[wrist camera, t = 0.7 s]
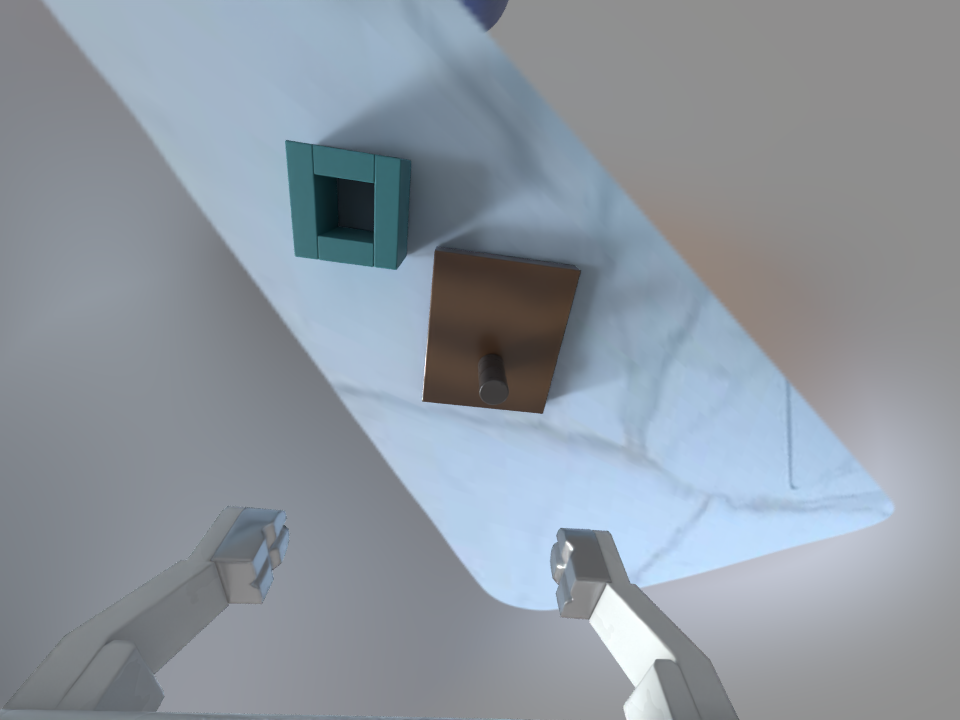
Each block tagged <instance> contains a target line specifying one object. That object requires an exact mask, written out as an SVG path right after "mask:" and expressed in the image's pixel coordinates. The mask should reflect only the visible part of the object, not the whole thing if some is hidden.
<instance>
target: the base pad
mask: <svg viewBox="0 0 960 720" xmlns="http://www.w3.org/2000/svg"><path fill="white" fill-rule="evenodd" d="M580 272H581V270H579V269H578V268H577V267H576V266H574V265H567V264H560V263H552V262H545V261H538V260H531V259H524V258H517V257H510V256H502V255H495V254H488V253H481V252H474V251H467V250H460V249H452V248H445V247H438V246H437V247H436V249H435V253H434V265H433V277H432V289H431V301H430V312H429V324H428V336H427V348H426V360H425V372H424V383H423V395H422V401H423V402H432V403H442V404H452V405H462V406H472V407H482V408H491V409H501V410H511V411H521V412H531V413H540V414H543V411H544V407H545V404H546V400H547V396H548V392H549V389H550V385H551V381H552V377H553V374H554V370H555V366H556V362H557V359H558V355H559V351H560V347H561V344H562V340H563V336H564V332H565V329H566V325H567V321H568V317H569V314H570V310H571V306H572V302H573V299H574V295H575V291H576V287H577V284H578V280H579V276H580Z"/></svg>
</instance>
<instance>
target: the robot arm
mask: <svg viewBox="0 0 960 720" xmlns="http://www.w3.org/2000/svg"><path fill="white" fill-rule="evenodd" d="M285 521H286V513H285V511H283V510H272V509H261V508H250V507H237V506H227V507H226V508H225V509H224V510H222V512H221V513H220V514H219V516H218V517H217V518H216V520H215V521H214V523H213V524H212V525H211V527H210V528H209V530H208V531H207V533H206V534H205V535H204V537H203V538H202V540H201V541H200V542H199V544H198V545H197V546H196V548H195V549H194V551H193V552H192V554H191V555H190V556H189V558H188V559H187V560H180V561H178V562H177V563H175V564H174V565H172V566H171V567H169V568H168V569H166V570H165V571H163V572H162V573H160V574H159V575H157V576H156V577H154V578H152V579H151V580H149V581H148V582H146V583H145V584H143V585H142V586H140V587H139V588H137V589H135V590H134V591H133V592H131V593H129V594H128V595H126V596H125V597H123V598H122V599H120V600H119V601H117V602H116V603H114V604H113V605H111V606H109V607H108V608H106V609H105V610H103V611H102V612H100V613H99V614H97V615H96V616H94V617H93V618H91V619H90V620H88V621H86V622H85V623H83V624H82V625H80V626H79V627H77V628H76V629H74V630H73V631H71V632H69V633H68V634H66V635H65V636H64V637H63V638H62V639H61V640H60V642H59V643H58V644H57V645H56V646H55V648H54V649H53V650H52V651H51V652H50V653H49V654H48V656H47V657H46V658H45V659H44V660H43V661H42V663H41V664H40V665H39V666H38V667H37V669H36V670H35V671H34V672H33V673H32V674H31V675H30V677H29V678H28V679H27V680H26V681H25V682H24V683H23V685H22V686H21V687H20V688H19V689H18V690H17V692H16V693H15V694H14V695H13V696H12V698H11V699H10V700H9V701H8V702H7V703H6V705H5V706H4V707H3V708H2V709H0V720H527V719H482V718H480V719H479V718H432V717H384V716H383V717H381V716H335V715H333V716H332V715H285V714H284V715H283V714H235V713H231V714H230V713H184V712H156V711H157V709H158V707H159V706H160V704H161V702H162V700H163V699H164V692H163V689H162V687H161V686H160V684H159V682H158V681H157V679H156V677H155V676H154V674H155V673H156V672H158V671H159V670H160V669H161V668H162V667H163V666H164V665H165V664H166V663H167V662H168V661H169V660H170V659H172V658H173V657H174V656H175V655H176V654H177V653H178V652H179V651H180V650H181V649H182V648H183V647H184V646H186V645H187V644H188V643H189V642H190V641H191V640H192V639H193V638H194V637H195V636H196V635H197V634H199V633H200V632H201V631H202V630H203V629H204V628H205V627H206V626H207V625H208V624H209V623H210V622H212V621H213V620H214V619H215V618H216V617H217V616H218V615H219V614H220V613H221V612H222V611H223V610H225V609H226V608H227V607H228V605H229V604H262V603H263V601H264V599H265V597H266V595H267V592H268V590H269V588H270V586H271V584H272V582H273V580H274V578H273V573H272V570H274V569H275V568H276V567H277V566H279V565H280V564H281V563H282V561H283V558H284V556H285V554H286V551H287V547H288V543H289V530H288V528H287V527H286V526H285V525H284V523H285ZM556 536H557V541H558V542H557V543H555V544H554V545H553V547H552V550H551V559H550V564H551V572H552V577H553V579H554V580H555V582H556V583H557V584H558V585H559V586H558V589H557V591H556V597H557V602H558V607H559V611H560V616H561V617H563V618H576V619H589V622H590V624H591V625H592V626H593V628H594V629H595V631H596V632H597V633H598V635H599V636H600V638H601V639H602V641H603V642H604V643H605V645H606V646H607V648H608V649H609V651H610V652H611V653H612V655H613V656H614V658H615V659H616V660H617V662H618V663H619V665H620V666H621V668H622V669H623V670H624V672H625V673H626V675H627V676H628V678H629V679H630V680H631V682H632V683H633V685H634V686H635V689H634V691H633V692H632V694H631V695H630V697H629V698H628V700H627V701H626V703H625V704H624V706H623V709H624V712H625V716H626V720H739V718H738V716H737V715H736V712H735V710H734V708H733V706H732V704H731V702H730V700H729V698H728V696H727V694H726V691H725V689H724V688H723V685H722V683H721V681H720V679H719V677H718V675H717V673H716V671H715V669H714V667H713V665H712V663H711V661H710V659H709V658H708V657H707V656H706V655H705V654H704V653H703V652H702V651H701V650H700V649H699V648H698V647H697V646H696V645H695V644H694V643H693V642H692V641H691V640H690V639H689V638H688V637H687V636H686V635H685V634H684V633H683V632H682V631H681V630H680V629H679V628H678V627H677V626H676V625H675V624H674V623H673V622H672V621H671V620H670V619H669V618H668V617H667V616H666V615H665V614H664V613H663V612H662V611H661V610H660V609H659V608H658V607H657V606H656V605H655V604H654V603H653V602H652V601H651V600H650V599H649V598H648V596H647V595H646V594H644V593H643V591H641V589H640V588H639V587H638V586H637V585H636V584H630V581H629V579H628V576H627V573H626V571H625V568H624V566H623V563H622V561H621V558H620V556H619V553H618V551H617V548H616V545H615V543H614V540H613V538H612V535H611V534H610V533H609V531H600V530H591V529H570V528H560V529H559V530H558V533H557V535H556ZM528 720H531V719H528Z"/></svg>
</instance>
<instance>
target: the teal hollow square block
mask: <svg viewBox="0 0 960 720" xmlns="http://www.w3.org/2000/svg"><path fill="white" fill-rule="evenodd" d="M285 145H286V157H287V169H288V181H289V193H290V205H291V217H292V229H293V240H294V252H295V256H296V257H303V258H311V259H319V260H325V261H332V262H340V263H347V264H355V265H362V266H370V267H373V266H374V267H378V268H386V269H393V270H397V268H398V267H399V266H400V264H401V263H402V261H403V260H404V259H405V257H406V256H407V237H408V217H409V197H410V178H411V160H407V159H401V158H395V157H389V156H382V155H376V154H370V153H364V152H357V151H351V150H345V149H339V148H332V147H326V146H320V145H314V144H307V143H301V142H295V141H289V140H286V141H285ZM337 178H343V179H350V180H356V181H363V182H369V183H375V197H374V231H368V230H361V229H354V228H347V227H339V226H338V193H337Z"/></svg>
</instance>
